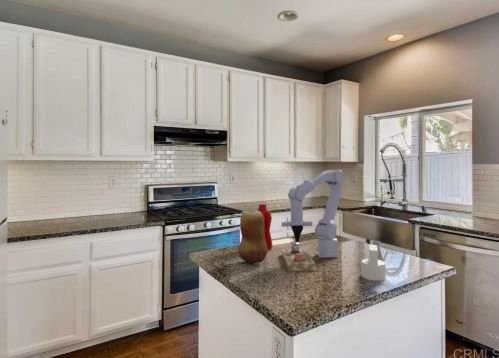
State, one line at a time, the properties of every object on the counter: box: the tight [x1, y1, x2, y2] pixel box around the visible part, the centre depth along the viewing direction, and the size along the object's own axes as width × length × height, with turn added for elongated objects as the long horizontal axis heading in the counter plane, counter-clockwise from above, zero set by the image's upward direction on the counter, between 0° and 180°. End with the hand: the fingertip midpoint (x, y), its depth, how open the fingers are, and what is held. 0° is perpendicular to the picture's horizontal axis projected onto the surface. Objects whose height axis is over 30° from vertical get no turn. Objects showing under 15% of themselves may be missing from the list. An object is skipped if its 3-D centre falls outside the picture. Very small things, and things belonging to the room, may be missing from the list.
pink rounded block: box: [295, 253, 304, 261], centre depth 138 cm, size 4×4×4 cm
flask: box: [372, 240, 386, 263], centre depth 142 cm, size 7×7×10 cm
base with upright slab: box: [361, 244, 386, 282], centre depth 124 cm, size 9×9×12 cm
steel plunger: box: [290, 241, 300, 253], centre depth 150 cm, size 4×4×4 cm
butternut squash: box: [238, 209, 269, 265], centre depth 143 cm, size 14×13×25 cm
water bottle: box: [256, 203, 273, 251], centre depth 168 cm, size 9×11×25 cm
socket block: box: [281, 248, 316, 272], centre depth 144 cm, size 12×24×3 cm, turn 0°
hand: (297, 241), depth 145 cm, fingers closed
